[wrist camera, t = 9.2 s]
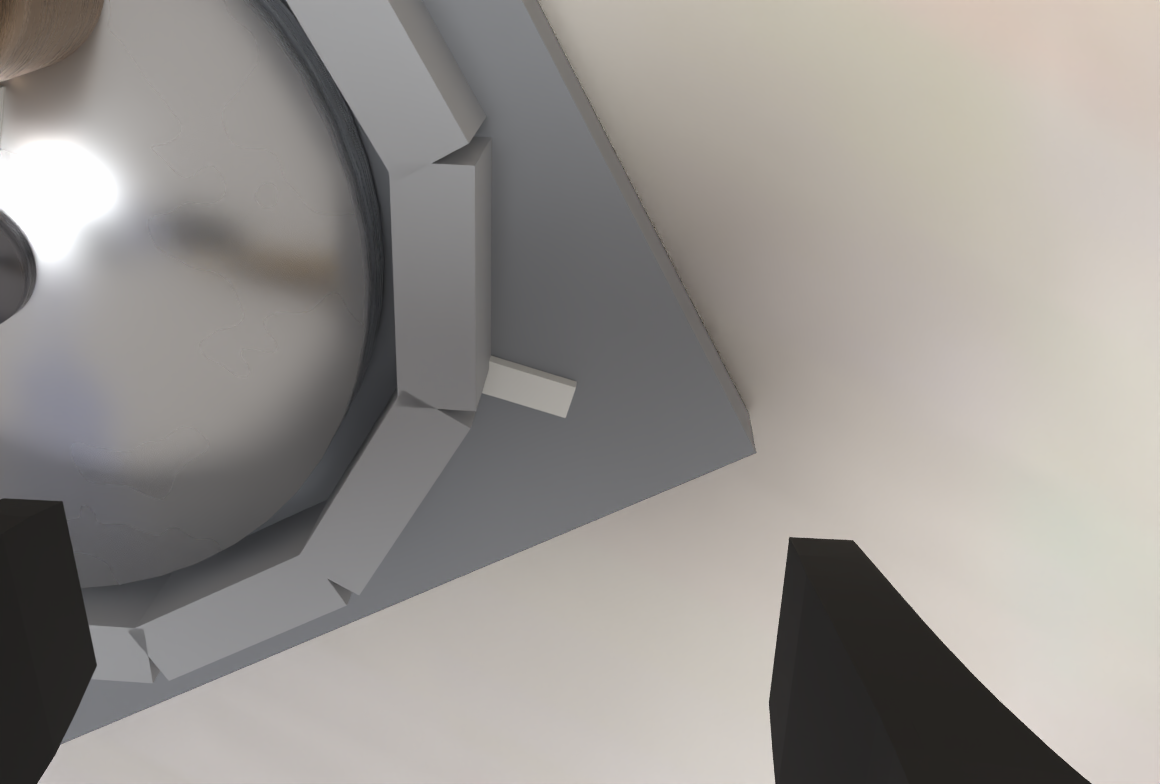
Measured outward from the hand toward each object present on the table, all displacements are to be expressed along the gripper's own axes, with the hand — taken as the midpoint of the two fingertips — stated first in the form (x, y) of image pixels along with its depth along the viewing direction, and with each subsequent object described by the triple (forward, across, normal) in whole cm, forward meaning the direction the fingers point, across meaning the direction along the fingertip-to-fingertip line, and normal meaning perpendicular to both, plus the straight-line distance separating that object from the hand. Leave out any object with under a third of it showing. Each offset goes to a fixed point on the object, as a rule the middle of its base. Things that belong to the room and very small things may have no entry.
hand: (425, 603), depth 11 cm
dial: (+8, +8, -1) cm, 11 cm away
